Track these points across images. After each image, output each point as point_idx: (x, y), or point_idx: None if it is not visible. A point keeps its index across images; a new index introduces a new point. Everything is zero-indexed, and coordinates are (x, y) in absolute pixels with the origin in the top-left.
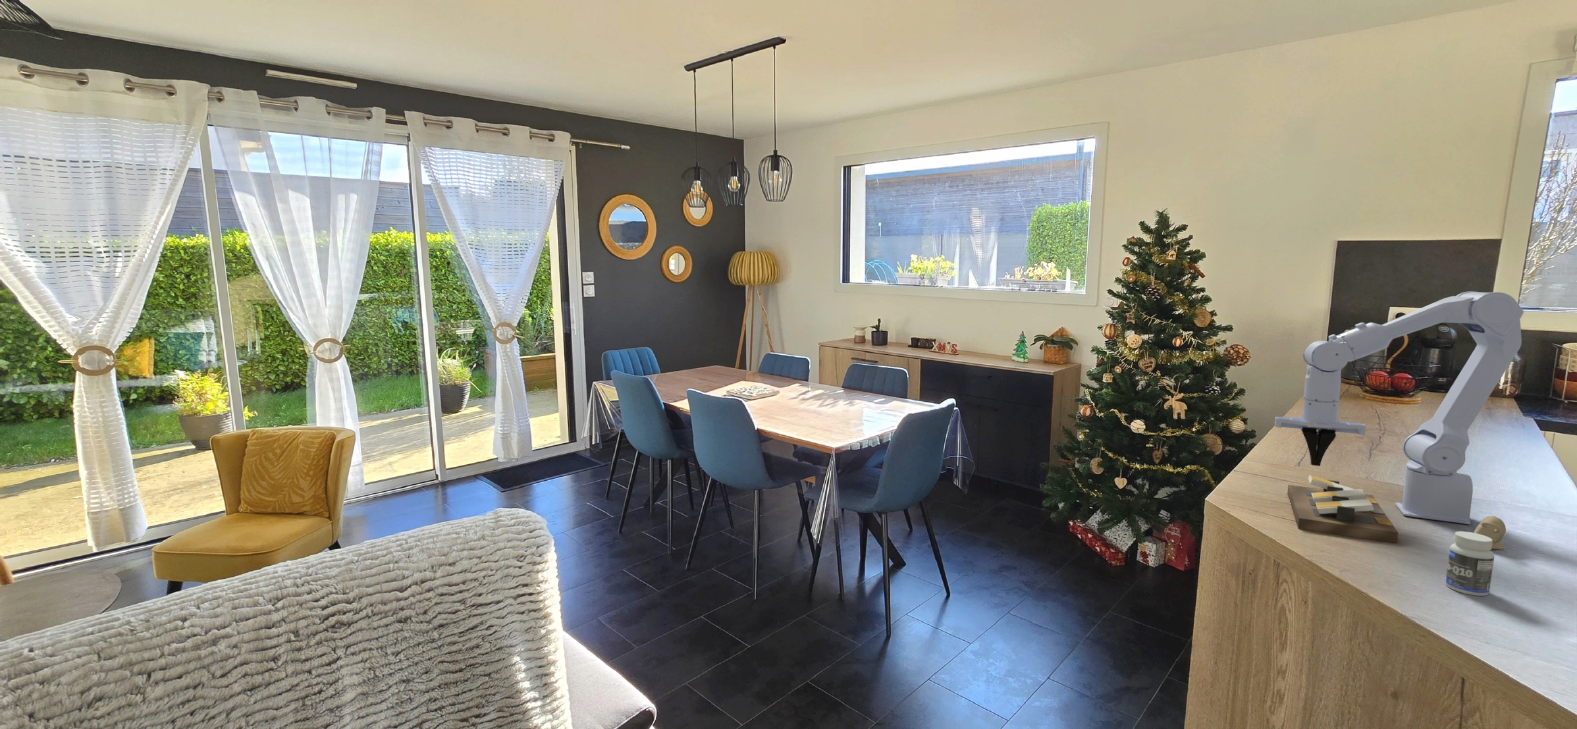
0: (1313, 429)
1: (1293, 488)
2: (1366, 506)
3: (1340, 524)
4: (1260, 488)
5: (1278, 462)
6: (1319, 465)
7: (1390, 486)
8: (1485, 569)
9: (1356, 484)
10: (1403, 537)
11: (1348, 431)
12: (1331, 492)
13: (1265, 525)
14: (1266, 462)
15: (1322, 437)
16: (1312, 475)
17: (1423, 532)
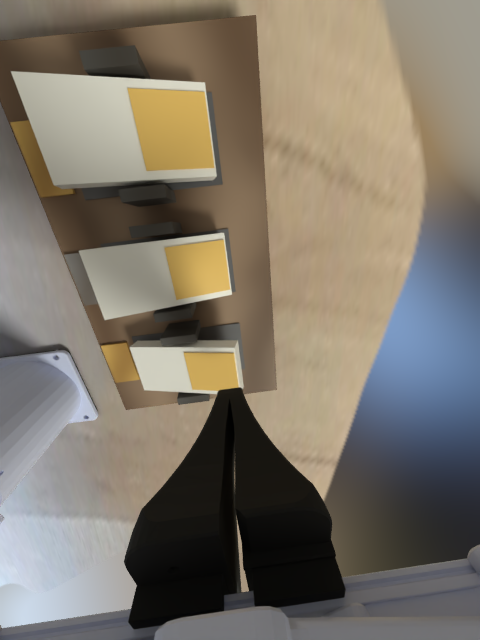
0: (272, 587)
1: (267, 367)
2: (38, 74)
3: (137, 30)
4: (317, 382)
5: None
6: (219, 390)
7: (129, 507)
8: None
9: None
10: (20, 157)
11: (50, 637)
12: (182, 286)
13: (336, 7)
14: None
15: (209, 501)
16: None
17: (3, 244)
